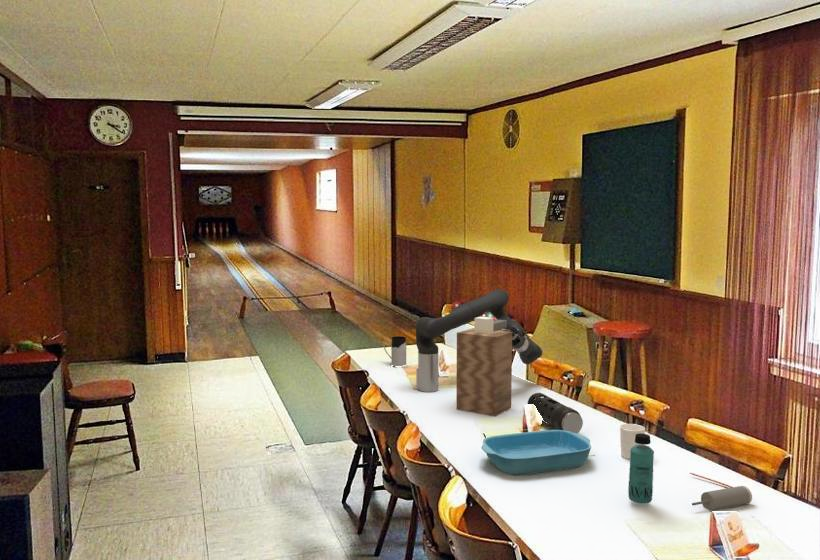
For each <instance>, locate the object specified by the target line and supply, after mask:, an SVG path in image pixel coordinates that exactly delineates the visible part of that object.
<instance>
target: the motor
mask: <svg viewBox="0 0 820 560" xmlns="http://www.w3.org/2000/svg"><path fill="white" fill-rule="evenodd" d="M689 474H690V475H693V476H695V477H692V478H693V479H697V480H699V481H703V482H706V483H709V484H713V485H716V486H719V487H721V489H717V490H715V489H714V490H710V491H706V492H705V491H704V492H703V493H702V494H701V495H700V501H697V502H692V503H691V506H699V505H702V507H703V508H704V509H706V510H708V511H709V512H712V511H711V510H713V511H718V510H723V509H728V508H734V507H740V506H744V505H745V506H746V505H749V504H751V502H752V500H753V495H752V492H751V490H750V489H749V488H748V487H747V486H745V485H739V486H731V485H729V484H726V483H723V482H720V481H719V480H718V481H717V480H716V479H712V478H709V477H705V476H702V475H699V474H696V473H693V472H689ZM696 477H698V478H696ZM699 478H700V479H699ZM701 478H702V479H701ZM710 481H711V482H710ZM722 488H723V489H722Z"/></svg>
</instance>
